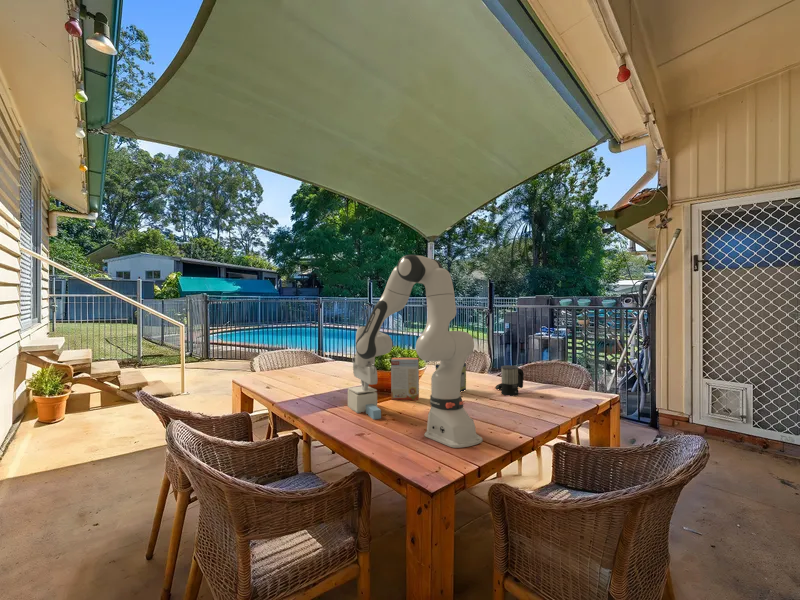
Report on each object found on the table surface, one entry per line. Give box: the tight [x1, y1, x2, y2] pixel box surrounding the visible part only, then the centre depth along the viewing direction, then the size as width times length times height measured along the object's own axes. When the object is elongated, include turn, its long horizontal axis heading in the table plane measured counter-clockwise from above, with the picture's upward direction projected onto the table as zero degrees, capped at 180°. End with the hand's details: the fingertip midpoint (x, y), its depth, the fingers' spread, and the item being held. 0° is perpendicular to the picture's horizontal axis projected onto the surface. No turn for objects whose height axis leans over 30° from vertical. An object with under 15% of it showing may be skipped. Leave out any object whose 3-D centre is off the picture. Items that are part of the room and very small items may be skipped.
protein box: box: [435, 362, 467, 393], centre depth 208 cm, size 10×16×16 cm
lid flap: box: [347, 385, 378, 394], centre depth 178 cm, size 12×10×1 cm
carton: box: [347, 389, 378, 414], centre depth 178 cm, size 12×10×8 cm
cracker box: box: [390, 357, 420, 401], centre depth 195 cm, size 14×6×21 cm, turn 84°
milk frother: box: [495, 364, 525, 397], centre depth 207 cm, size 14×16×15 cm
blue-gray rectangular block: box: [365, 404, 382, 420], centre depth 167 cm, size 10×4×4 cm, turn 24°
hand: (365, 390), depth 175 cm, fingers closed, pressing on lid flap
